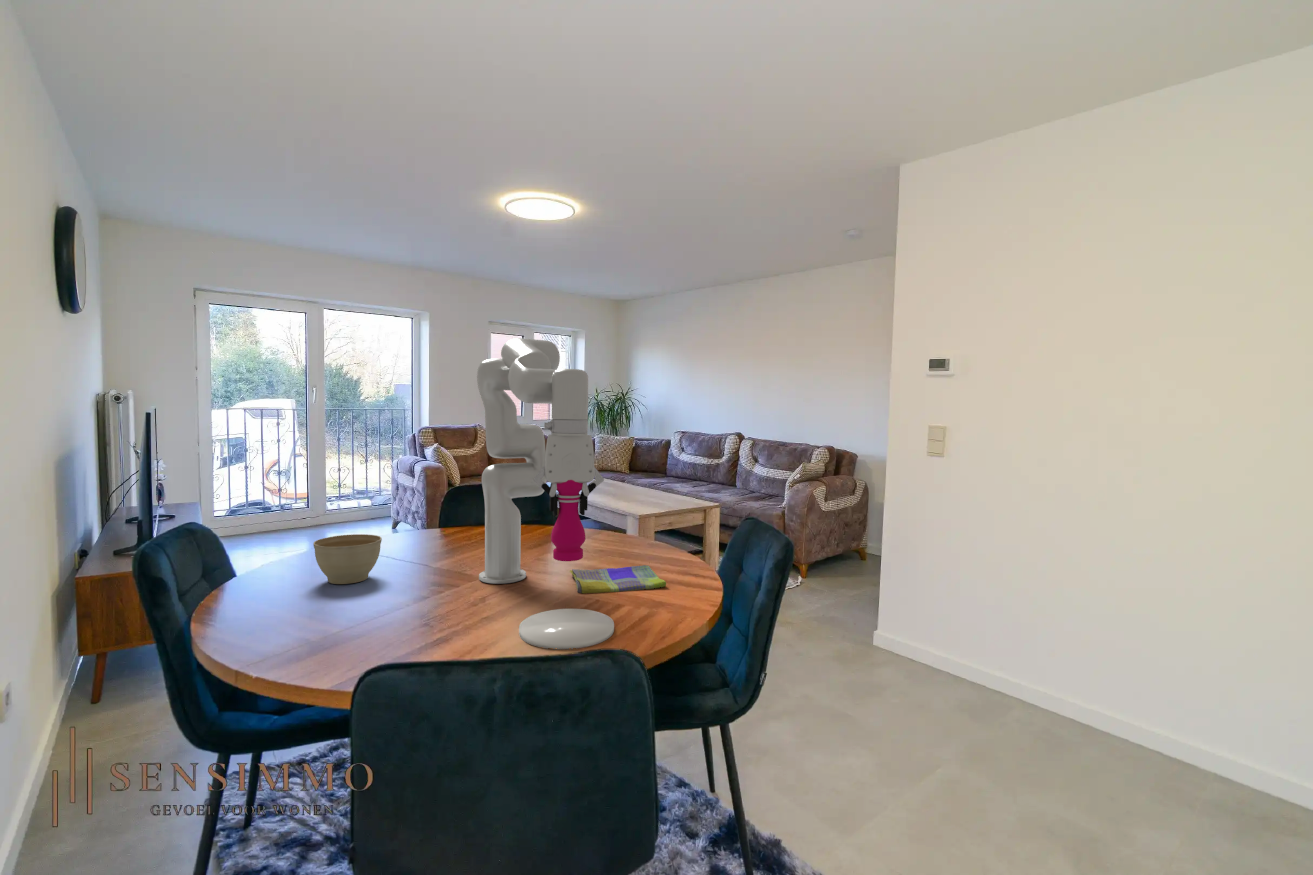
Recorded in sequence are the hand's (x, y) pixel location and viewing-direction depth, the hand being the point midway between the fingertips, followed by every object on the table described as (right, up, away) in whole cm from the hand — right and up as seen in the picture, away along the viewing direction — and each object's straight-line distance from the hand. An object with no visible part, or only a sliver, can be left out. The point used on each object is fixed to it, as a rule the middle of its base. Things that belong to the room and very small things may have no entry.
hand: (568, 513), depth 125 cm
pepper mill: (0, -10, 0) cm, 10 cm away
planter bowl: (-64, -22, +34) cm, 76 cm away
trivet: (-1, -25, +1) cm, 25 cm away
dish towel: (+8, -24, +37) cm, 45 cm away
